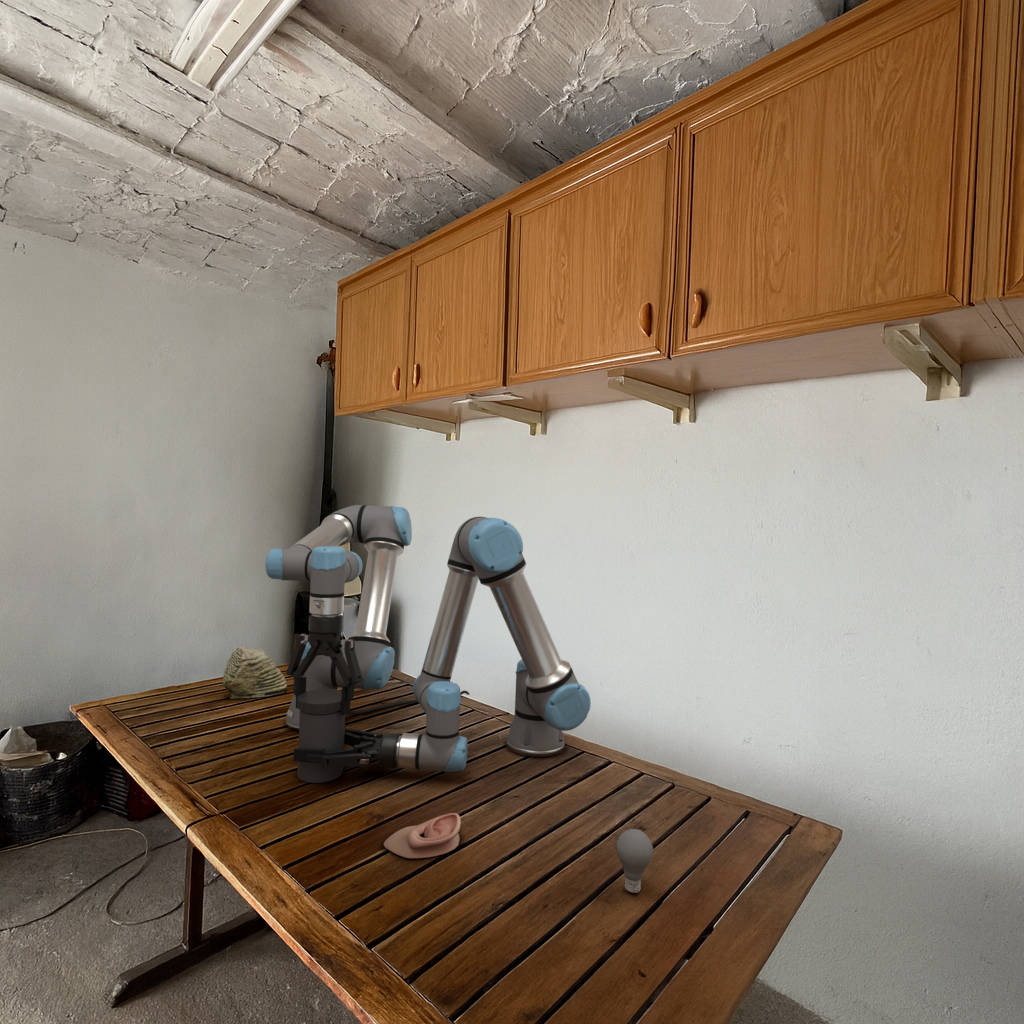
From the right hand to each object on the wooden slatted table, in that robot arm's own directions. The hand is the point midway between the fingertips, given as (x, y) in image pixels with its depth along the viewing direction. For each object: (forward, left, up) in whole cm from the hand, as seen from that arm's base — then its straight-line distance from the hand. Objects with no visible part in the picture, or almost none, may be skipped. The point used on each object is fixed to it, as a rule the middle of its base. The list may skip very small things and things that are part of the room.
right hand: (302, 745), depth 145 cm
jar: (-4, +2, -6) cm, 8 cm away
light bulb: (-47, +63, -6) cm, 79 cm away
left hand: (-4, +2, +8) cm, 9 cm away
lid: (-4, +2, +11) cm, 12 cm away
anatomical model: (-18, +38, -6) cm, 42 cm away
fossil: (+9, -61, -6) cm, 62 cm away
